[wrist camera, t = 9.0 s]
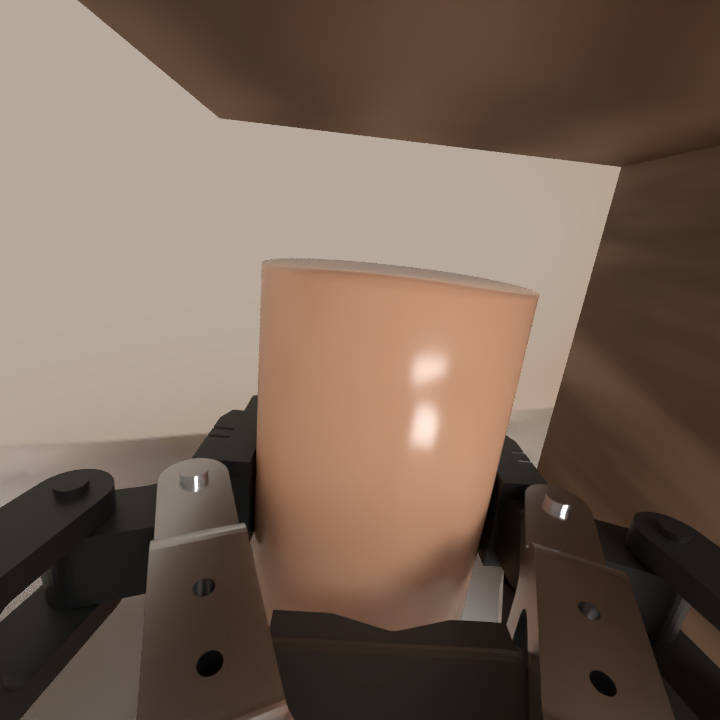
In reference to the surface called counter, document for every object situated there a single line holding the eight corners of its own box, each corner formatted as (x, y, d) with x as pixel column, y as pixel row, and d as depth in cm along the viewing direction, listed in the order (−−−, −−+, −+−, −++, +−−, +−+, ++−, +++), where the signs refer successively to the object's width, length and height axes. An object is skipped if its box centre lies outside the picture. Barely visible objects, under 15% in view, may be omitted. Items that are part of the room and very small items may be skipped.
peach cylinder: (418, 609, 15) (484, 274, 11) (457, 816, 9) (606, 314, 6) (268, 601, 14) (284, 253, 11) (223, 811, 9) (224, 274, 5)
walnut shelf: (561, 500, 24) (678, 122, 18) (825, 843, 11) (1675, -193, 4) (222, 476, 23) (219, 63, 17) (43, 823, 10) (-311, -600, 3)
